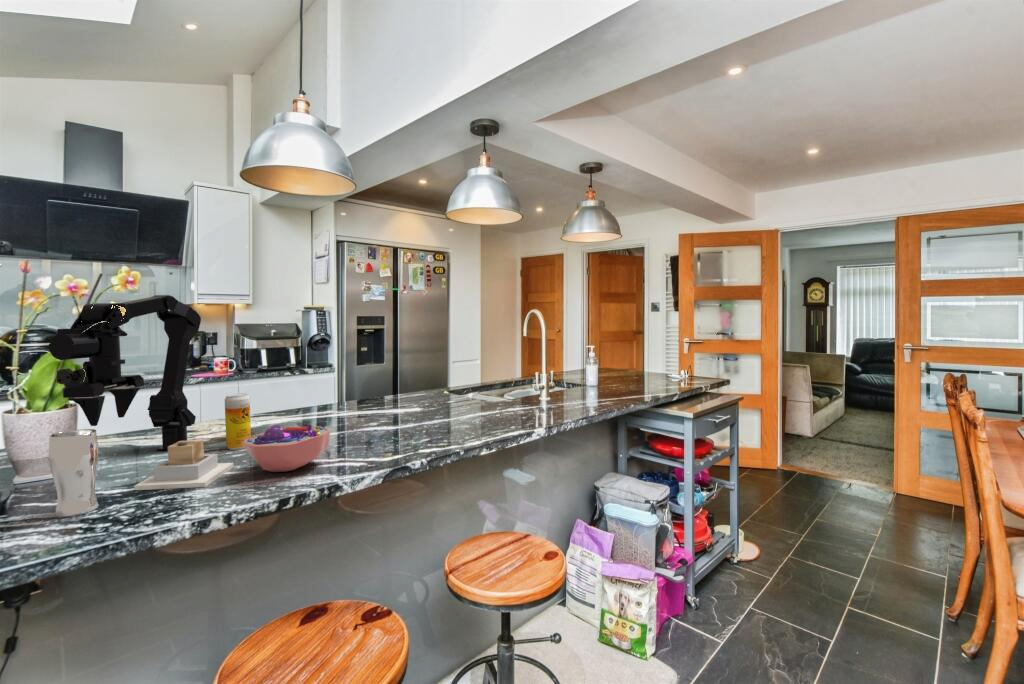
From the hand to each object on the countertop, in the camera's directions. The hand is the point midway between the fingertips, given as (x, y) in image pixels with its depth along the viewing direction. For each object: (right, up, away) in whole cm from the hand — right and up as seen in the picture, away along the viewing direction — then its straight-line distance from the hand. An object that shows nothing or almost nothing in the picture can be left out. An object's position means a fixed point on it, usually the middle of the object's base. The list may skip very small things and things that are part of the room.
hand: (108, 421), depth 114 cm
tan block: (+22, -11, -4) cm, 25 cm away
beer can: (+19, -11, +21) cm, 30 cm away
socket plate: (+22, -12, -4) cm, 25 cm away
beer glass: (+13, -14, -23) cm, 30 cm away
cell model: (+42, -12, +3) cm, 44 cm away
